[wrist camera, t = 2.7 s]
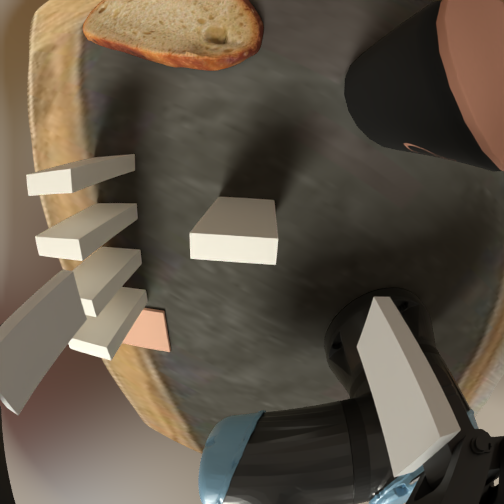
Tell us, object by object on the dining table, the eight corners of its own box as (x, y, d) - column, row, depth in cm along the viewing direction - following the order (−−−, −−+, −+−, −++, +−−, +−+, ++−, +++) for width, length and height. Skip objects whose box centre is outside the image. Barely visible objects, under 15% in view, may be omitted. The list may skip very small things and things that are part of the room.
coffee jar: (363, 161, 25) (486, 207, 8) (323, 64, 21) (401, -25, 5) (441, 136, 23) (570, 162, 6) (407, 47, 19) (520, 0, 2)
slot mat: (100, 300, 34) (99, 302, 33) (164, 310, 33) (163, 313, 33) (111, 338, 36) (110, 340, 36) (171, 349, 36) (170, 352, 36)
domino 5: (218, 196, 27) (189, 232, 17) (274, 199, 27) (278, 238, 17) (218, 213, 28) (190, 258, 18) (272, 217, 28) (275, 264, 18)
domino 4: (109, 284, 33) (65, 335, 22) (145, 289, 32) (106, 347, 22) (111, 296, 33) (70, 348, 23) (147, 301, 33) (111, 360, 23)
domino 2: (96, 203, 28) (35, 236, 18) (136, 203, 28) (78, 239, 18) (98, 217, 29) (39, 255, 19) (137, 218, 29) (82, 260, 19)
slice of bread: (82, 22, 19) (66, 15, 15) (212, -50, 15) (206, -66, 12) (123, 128, 25) (105, 129, 22) (278, 52, 21) (279, 40, 18)
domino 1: (93, 157, 26) (26, 174, 16) (134, 154, 26) (70, 168, 16) (94, 172, 27) (28, 195, 17) (135, 170, 26) (72, 192, 16)
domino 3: (102, 246, 30) (48, 291, 20) (140, 249, 30) (91, 300, 20) (104, 259, 31) (54, 306, 21) (142, 263, 31) (96, 317, 21)
